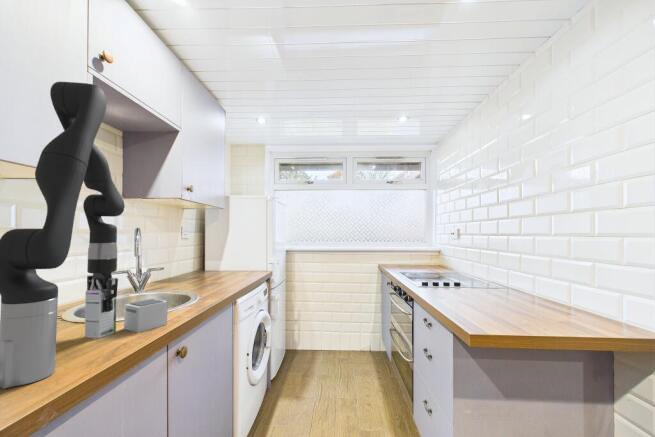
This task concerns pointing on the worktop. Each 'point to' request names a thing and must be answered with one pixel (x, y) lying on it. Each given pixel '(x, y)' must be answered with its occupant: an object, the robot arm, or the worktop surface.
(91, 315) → the syrup box
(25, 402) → the worktop surface
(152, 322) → the grey storage bin
